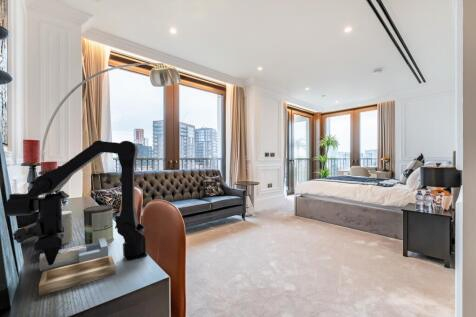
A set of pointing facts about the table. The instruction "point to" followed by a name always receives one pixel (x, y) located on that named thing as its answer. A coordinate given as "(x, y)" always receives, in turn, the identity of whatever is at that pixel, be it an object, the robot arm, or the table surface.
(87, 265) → the oak tray
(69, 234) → the cup
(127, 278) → the table surface
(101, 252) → the bracket
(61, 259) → the steel block
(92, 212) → the coffee can
